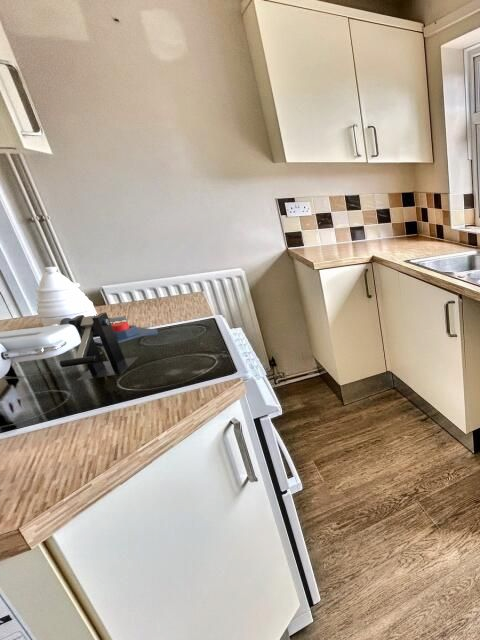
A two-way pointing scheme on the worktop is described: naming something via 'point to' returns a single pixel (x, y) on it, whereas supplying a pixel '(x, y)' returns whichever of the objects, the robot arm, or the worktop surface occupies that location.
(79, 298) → the honey pot
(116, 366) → the bracket
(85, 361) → the lever
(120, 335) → the button box
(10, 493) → the worktop surface
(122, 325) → the button
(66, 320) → the door handle
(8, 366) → the robot arm
